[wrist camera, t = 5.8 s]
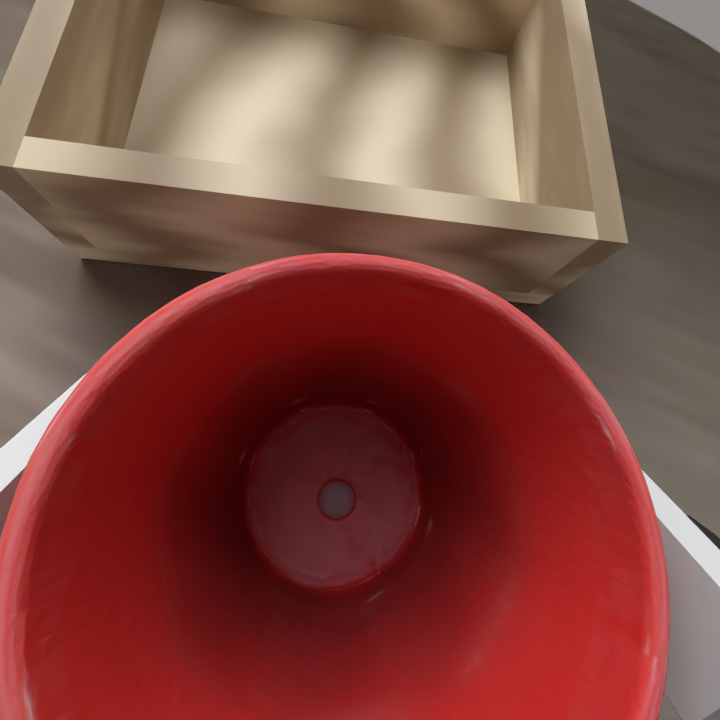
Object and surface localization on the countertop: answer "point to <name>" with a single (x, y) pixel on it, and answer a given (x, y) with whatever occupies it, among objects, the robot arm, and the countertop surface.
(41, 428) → the robot arm
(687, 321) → the countertop surface
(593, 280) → the countertop surface
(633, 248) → the countertop surface
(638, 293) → the countertop surface
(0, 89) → the pine crate
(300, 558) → the flower pot
